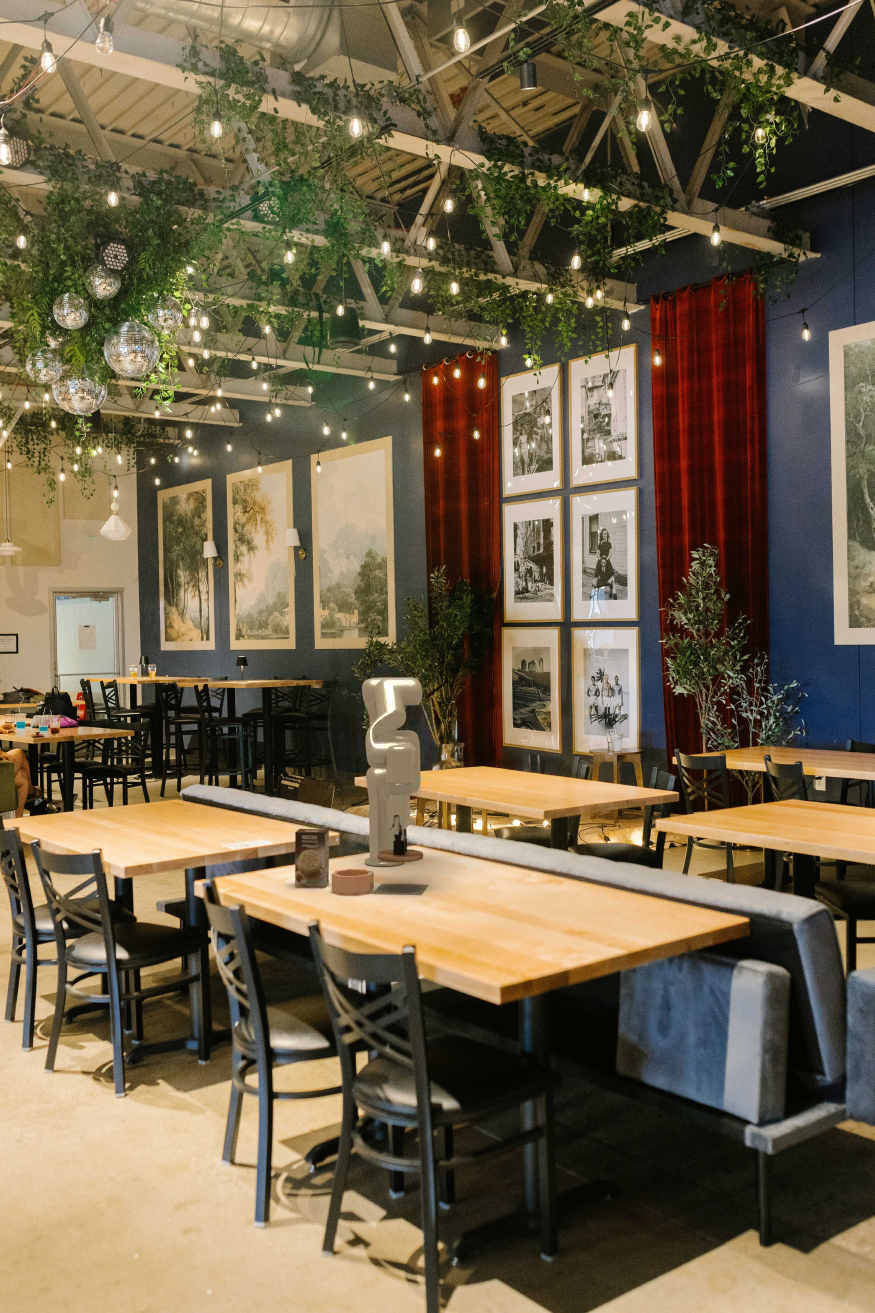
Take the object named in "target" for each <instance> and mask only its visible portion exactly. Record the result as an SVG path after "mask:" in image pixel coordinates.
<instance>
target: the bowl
mask: <svg viewBox="0 0 875 1313" xmlns="http://www.w3.org/2000/svg"><path fill="white" fill-rule="evenodd" d="M374 873H375V872H374V871H372V870H370V869H366V868H365V869H364V868H363V869H362V868H347V869H340V870H335V871H333V872H332V873H331V891H332V892H333V894H335V895H338V896H352V897H353V896H362V895H368V894H372V893H373V889H375V888H374V886H375V885H374V883H375V882H374V880H375V879H374V878H375V874H374Z"/></svg>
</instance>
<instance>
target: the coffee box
mask: <svg viewBox="0 0 875 1313" xmlns="http://www.w3.org/2000/svg"><path fill="white" fill-rule="evenodd" d="M294 836H295V837H294V847H295V848H294V850H295V851H294V854H295V855H294V856H295V858H294V862H295V863H294V879H295V880H294V887H295V888H314V889H315V888H316V889H319V888H321V889H322V888H323V889H326V887H327V886H328V885H329V884H330V880H329V879H330V866H329V865H330V841H329V840H330V829H328V828H327V829H326V828H325V829H322V828H321V829H320V828H299V829H297V830H296V831H295V832H294Z"/></svg>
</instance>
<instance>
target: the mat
mask: <svg viewBox="0 0 875 1313" xmlns="http://www.w3.org/2000/svg"><path fill="white" fill-rule="evenodd" d="M429 886H430V884H425V883H424V884H423V883H422V884H419V883H417V884H416V883H415V884H414V883H411V884H410V883H381V884H380V885H379V886H378V887H377V888H376V889H375V890H373V891H372V892H371V895H385V896H386V895H389V896H390V895H391V896H392V895H393V896H395V895H396V896H422V895H423V894H424V892H425V891H426V890H427V889H428V887H429Z"/></svg>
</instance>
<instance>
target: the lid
mask: <svg viewBox="0 0 875 1313" xmlns="http://www.w3.org/2000/svg"><path fill="white" fill-rule="evenodd" d="M404 841H405V836H404ZM377 858H378V859H379V860H382V861H386V862H404V863H410V862H411V863H412V862H417V861H421V860H423V858H424V853H423V852H422V851H420V850H416V849H411V848H410V849H408V848H407V852H405V854H404V855H394V854H393V850H385V851H381V852H379V853H378V854H377Z"/></svg>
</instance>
